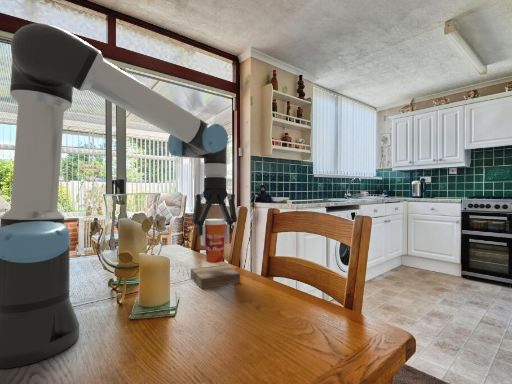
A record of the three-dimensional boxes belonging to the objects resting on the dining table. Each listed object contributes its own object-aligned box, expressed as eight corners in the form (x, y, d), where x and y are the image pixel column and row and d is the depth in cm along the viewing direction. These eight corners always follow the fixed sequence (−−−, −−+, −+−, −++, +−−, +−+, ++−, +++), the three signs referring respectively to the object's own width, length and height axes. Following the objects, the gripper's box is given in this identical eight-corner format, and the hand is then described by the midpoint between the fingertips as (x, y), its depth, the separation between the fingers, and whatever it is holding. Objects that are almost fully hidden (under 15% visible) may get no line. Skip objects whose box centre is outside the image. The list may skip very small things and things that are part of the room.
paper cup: (204, 264, 92) (204, 221, 92) (202, 258, 99) (202, 218, 99) (228, 262, 94) (228, 220, 94) (224, 257, 101) (224, 218, 101)
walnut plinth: (240, 282, 94) (240, 273, 94) (201, 288, 88) (201, 279, 88) (225, 272, 105) (225, 264, 105) (190, 277, 99) (190, 268, 99)
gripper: (238, 178, 104) (238, 240, 105) (182, 176, 95) (181, 244, 95) (247, 177, 98) (247, 243, 98) (187, 175, 88) (187, 248, 88)
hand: (215, 244), depth 96 cm, fingers closed on paper cup, 8 cm apart
